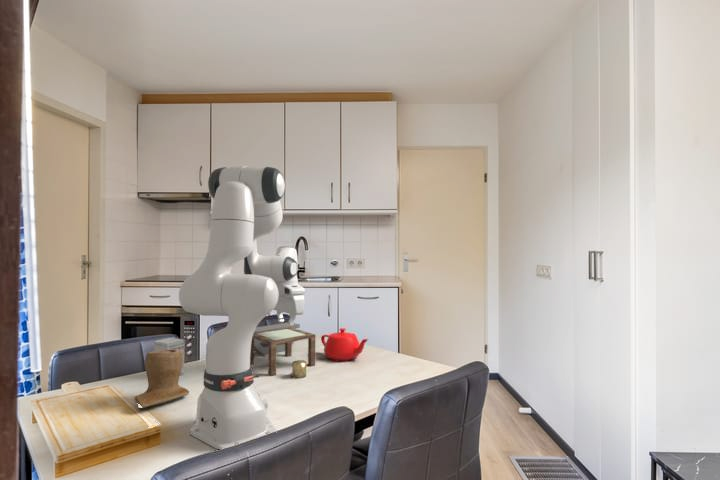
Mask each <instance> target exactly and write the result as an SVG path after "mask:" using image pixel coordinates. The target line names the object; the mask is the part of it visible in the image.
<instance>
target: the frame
mask: <svg viewBox="0 0 720 480" xmlns="http://www.w3.org/2000/svg"><path fill="white" fill-rule="evenodd" d="M283 329H289V330H293V331H296V332H299V333H303V334H306V335H303V336H297V337H291V338H285V339H280V340H271V339H268V338H265V337H262V336H260V335H257V333H264V332H270V331H277V330H283ZM254 339H257V340H259V341H262V342H261V343H263V344H269V355H268V362H267V363H268V368H267V370H268V373H267V374H268V376H271V377H273V376H275V375H277V353H276V344H281V343H285V351H284V356H285V357H287V358H288V357H292V353H293V352H292V350H293V349H292V347H293V344H292V341H294V342H297V341H303V340H307V339H308V340H307V341H308V343H307V345H308V346H307V349H308V350H307V351H308V353H307V355H308V356H307V366H310V367H313V366H316V334H315V333H311V332H307V331H304V330H300V329H299V328H296V329H294V328H291V327H287V328H280V329H273V330H267V331H260V332H254V333H253V337H252V342H251V353H250V366H251V365H254V363H255V362H254V361H255V351H254Z"/></svg>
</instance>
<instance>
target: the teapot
mask: <svg viewBox="0 0 720 480" xmlns="http://www.w3.org/2000/svg"><path fill="white" fill-rule="evenodd" d="M339 331H340V332H334V333H333V332H332V333H330V334H322V335H321V337H320V340H321V343H322V345H323V346H324V348H323V352H324V354H325V356H326V357H328V359H330V360H333V361H336V362H347V361H348V360H349V361H352V360H354V359H356V358H357V357H358V356H359V355H360V354H361V353H362V352H363V350H364V348H365V344H366V343H367V341H368V340H369V339H368V338H367V339H366V338H363V339H362V340H361V342H360V341H359V339H358V337H357V335H356V334H355V333H352V332H345V331H346V328H342V327H341V328H339ZM325 338H327V339H325Z"/></svg>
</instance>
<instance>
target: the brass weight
mask: <svg viewBox="0 0 720 480" xmlns="http://www.w3.org/2000/svg"><path fill="white" fill-rule="evenodd" d="M291 365H292V366H291V367H292V369H291V370H292V374H291V377H292V378H293V379H304V378H306V377H307V361H306V360H302V359H301V360H300V359H299V360H297V359H296V360H294V361H292V364H291Z"/></svg>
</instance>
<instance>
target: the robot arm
mask: <svg viewBox="0 0 720 480" xmlns="http://www.w3.org/2000/svg"><path fill="white" fill-rule="evenodd" d="M207 187H208V193H209V194H210V196H211V197H212V199H213V202H212V208H211V217H210V231H209V232H210V233H209V241H208V249H207V252H206V255H205V257H204V258H203V259H204V260H203V261H202V263H201V264H200V266H199V267H198V268H197V269H196V270H195V271H194V272H193V273H192V274H191V275H190V276H188V277H187V278H186V279H184V281H183V283H182V284H181V286H179V287H180V288H179V291H178V300H179V304H180V306H181V307H182V309H183V310H184V311H185V312H186V313H191V314H195V315H199V316H202V317H203V316H204V317H205V316H210V317H212V316H215V317H219V316H220V317H222V316H224V317H228V320H227V324H226V327H224V328H221V329H219V330H217V331H215V332H214V333H212V335H210V337H209V338H208V339H207V342H206V345H205V369H204V372H203V377H202V379H203V386H204V388H203V389H202V391H201V393H200V394H199V396H198V398H197V403H196V416H195V418H196V419H195V425H193V426H192V427H191V428H189V429H190V430H189V434H190V435H191V436H192V437H195V438H196V439H197V440H199V441H201V442H203V443H205V444H208V445H209V446H210V447H212V448H215V449H216V448H217V449H216V450H218V449H222V448H226V447H230V446H233V445H236V444H239V443H242V442H246V441H249V440H251V439H254V438H257V437H260V436H263V435H266V434H268V433H272V432H274V431H276V432H277V428H276V427H275V426H274V424H272V422H271V421H270V419H269V418H268V417H267V409H268V406H269V405H268V401H267V399H262V397H261V395H260V391H258V390H257V389H256V386H255V384H254V378H255V377H254V376H253V374H254V372H253V369H252V366H251V365H250V353H251V342H252V337H253V333H254V331H255V329H256V327H258V325H259V324H260V322H262V320H263V319H264V318H265V317H266V316H268V315H269V314H271V312H272V311H276V315H277V318H278V319H277V322H278V323H279V324H281V323H285V322H284V321H285V317H284V315H283V314H284V313H285V314H289V319H288V320H287V323H288V325H294V323H295V320H296V317H297V316H300V315H304V314H305V307H306V306H305V305H306V304H305V293H306V289H305V288H304V287H303V286H302V285H301V284H299V283H298V282H299V279H298V271H299V258H298V252H297V249H296V248H294V246H293V247H292V246H279V247H277V248H276V253H275V255H261V254H259V253H258V244H257V243H258V242H257V239H258V238H260V237H263V236H266V235H269V234H271V233H272V232H274V231H276V230H277V229H278V228H279V227H280V226H281V224H282V221H283V217H284V216H283V208H282V204H281V199H282V198H283V197H284V194H285V189H286V185H285V179H284V176H283V174H282V172H281V171H280V170H279V169H278V168H277V167H276V168H275V167H271V166H265V167H261V166H247V165H242V166H232V167H231V166H230V167H227V166H226V167H225V166H223V167H219V168H216V169H214V170H213V171H212V172H211V173H210V174H209V177H208V180H207ZM241 260H243V273H233V274H232V270H233V267H234V266H235V264H236V263H238V262H240V261H241Z"/></svg>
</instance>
